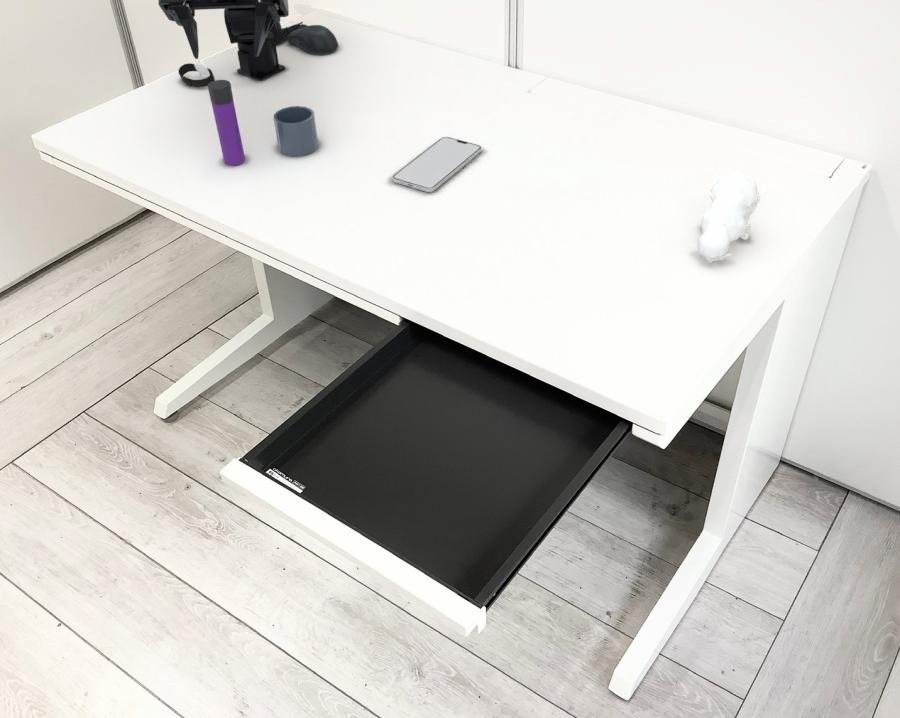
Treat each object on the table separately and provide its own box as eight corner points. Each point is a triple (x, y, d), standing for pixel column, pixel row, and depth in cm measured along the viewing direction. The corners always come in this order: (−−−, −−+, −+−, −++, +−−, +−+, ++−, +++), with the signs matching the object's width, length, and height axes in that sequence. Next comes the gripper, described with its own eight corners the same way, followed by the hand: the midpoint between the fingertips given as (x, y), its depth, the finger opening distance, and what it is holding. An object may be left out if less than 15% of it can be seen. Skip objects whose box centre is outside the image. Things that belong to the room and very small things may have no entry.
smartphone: (389, 177, 132) (443, 135, 141) (389, 181, 132) (443, 139, 142) (431, 190, 129) (483, 146, 138) (431, 194, 129) (484, 150, 139)
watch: (222, 82, 161) (218, 63, 159) (202, 92, 158) (198, 72, 156) (193, 73, 164) (189, 54, 162) (173, 82, 162) (169, 62, 159)
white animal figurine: (767, 172, 114) (741, 225, 107) (756, 225, 120) (730, 279, 113) (718, 161, 116) (689, 213, 109) (709, 214, 122) (681, 266, 115)
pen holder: (298, 134, 145) (294, 102, 141) (326, 144, 142) (322, 112, 138) (270, 149, 141) (265, 117, 137) (298, 160, 138) (293, 127, 134)
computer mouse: (314, 62, 167) (311, 41, 164) (263, 44, 174) (259, 24, 172) (352, 45, 173) (350, 25, 170) (301, 28, 180) (298, 9, 177)
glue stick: (235, 153, 140) (220, 77, 132) (249, 159, 139) (234, 82, 130) (219, 162, 138) (202, 85, 130) (233, 168, 137) (217, 90, 129)
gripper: (145, -69, 129) (147, 36, 128) (274, -74, 129) (277, 30, 128) (169, -30, 140) (171, 67, 139) (287, -34, 140) (290, 62, 139)
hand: (226, 56), depth 136 cm, fingers open, 9 cm apart
